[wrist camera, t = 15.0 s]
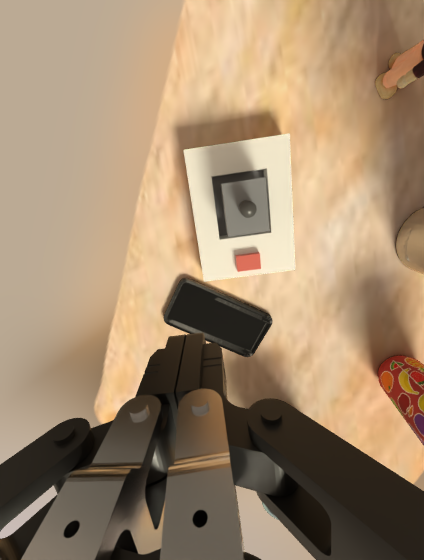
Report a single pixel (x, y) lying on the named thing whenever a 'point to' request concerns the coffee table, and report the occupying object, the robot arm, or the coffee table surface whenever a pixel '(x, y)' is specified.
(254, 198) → the plug
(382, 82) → the grandmother figurine
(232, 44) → the coffee table surface
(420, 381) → the smoothie
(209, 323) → the phone
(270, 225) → the socket plate
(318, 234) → the coffee table surface
